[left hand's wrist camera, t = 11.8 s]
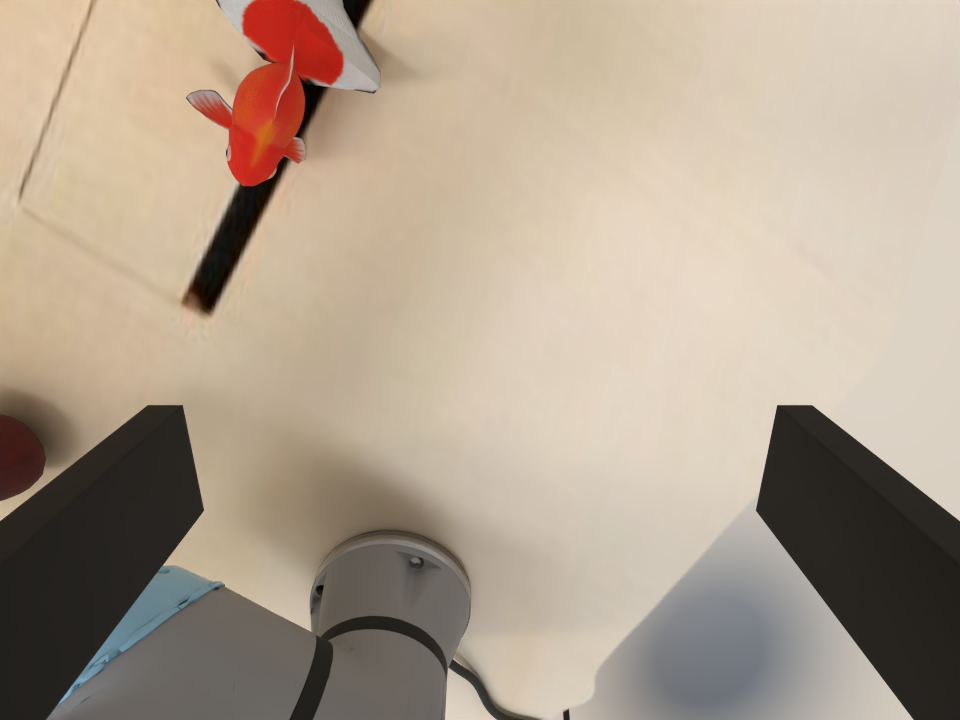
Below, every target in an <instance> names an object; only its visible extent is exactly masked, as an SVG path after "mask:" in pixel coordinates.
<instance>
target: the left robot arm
mask: <svg viewBox="0 0 960 720" xmlns="http://www.w3.org/2000/svg"><path fill="white" fill-rule="evenodd" d="M203 511H204V508H203V503H202V498H201V493H200V488H199V483H198V478H197V473H196V469H195V464H194V459H193V454H192V449H191V444H190V439H189V434H188V429H187V424H186V419H185V414H184V410H183V405H148V406H146V407H145V408H144V409H143V410H141V411H140V412H139V413H138V414H136V415H135V416H134V417H132V418H131V419H130V420H129V421H127V422H126V423H125V424H124V425H122V426H121V427H120V428H118V429H117V430H116V431H115V432H113V433H112V434H111V435H109V436H108V437H107V438H106V439H104V440H103V441H102V442H101V443H99V444H98V445H97V446H95V447H94V448H93V449H92V450H90V451H89V452H88V453H87V454H85V455H84V456H83V457H81V458H80V459H79V460H78V461H76V462H75V463H74V464H73V465H71V466H70V467H69V468H67V469H66V470H65V471H64V472H62V473H61V474H60V475H59V476H57V477H56V478H55V479H53V480H52V481H51V482H50V483H48V484H47V485H46V486H45V487H43V488H42V489H41V490H39V491H38V492H37V493H36V494H34V495H33V496H32V497H31V498H29V499H28V500H27V501H25V502H24V503H23V504H22V505H20V506H19V507H18V508H16V509H15V510H14V511H13V512H11V513H10V514H9V515H8V516H6V517H5V518H4V519H2V520H1V521H0V720H445V707H446V688H447V672H448V667H449V668H450V669H451V670H453V671H454V672H456V673H457V674H459V675H460V676H462V677H463V678H465V679H466V680H468V681H469V682H470V683H471V684H472V685H473V686H474V688H475V689H476V691H477V693H478V695H479V697H480V699H481V701H482V703H483V705H484V706H485V708H486V709H487V711H488V712H489V713H490V714H491V715H492V716H493V717H494V718H496V719H497V720H522V719H518V718H514V717H510V716H508V715H505V714H503V713H502V712H500V711H499V710H498V709H496V708H495V706H494V705H493V704H492V702H491V701H490V699H489V697H488V695H487V693H486V691H485V689H484V687H483V685H482V683H481V682H480V681H479V680H478V678H477V677H476V676H475V675H474V674H473V673H471V672H470V671H469V670H467V669H466V668H464V667H463V666H461V665H460V664H458V663H457V662H455V661H454V660H453V656H454V654H455V652H456V649H457V647H458V645H459V642H460V640H461V638H462V636H463V634H464V633H465V631H466V628H467V626H468V623H469V619H470V604H471V591H470V585H469V581H468V578H467V576H466V573H465V571H464V570H463V568H462V566H461V565H460V563H459V562H458V561H457V560H456V558H455V557H454V556H453V555H452V554H451V553H450V552H448V551H447V550H446V549H445V548H443V547H442V546H440V545H439V544H437V543H435V542H433V541H431V540H429V539H427V538H425V537H422V536H419V535H416V534H412V533H407V532H401V531H376V532H370V533H366V534H362V535H359V536H356V537H354V538H351V539H349V540H347V541H346V542H344V543H342V544H341V545H339V546H338V547H336V548H335V549H334V550H333V551H332V552H331V553H330V554H329V555H328V556H327V557H326V559H325V560H324V561H323V563H322V565H321V567H320V569H319V571H318V574H317V576H316V579H315V582H314V584H313V587H312V590H311V595H310V609H311V627H310V628H311V629H312V632H310V631H308V630H306V629H304V628H302V627H300V626H298V625H297V624H295V623H293V622H291V621H289V620H287V619H285V618H283V617H281V616H279V615H277V614H275V613H273V612H271V611H269V610H267V609H266V608H264V607H262V606H260V605H258V604H256V603H254V602H252V601H251V600H249V599H247V598H245V597H243V596H241V595H239V594H237V593H235V592H234V591H232V590H230V589H228V588H226V587H225V585H224V584H223V583H222V582H219V581H217V582H213V581H210V580H208V579H206V578H203V577H201V576H199V575H196V574H194V573H192V572H190V571H188V570H185V569H183V568H181V567H178V566H169V565H168V566H163V564H164V563H165V562H166V560H167V559H168V558H169V556H170V555H171V554H172V552H173V551H174V550H175V548H176V547H177V546H178V544H179V543H180V542H181V540H182V539H183V538H184V536H185V535H186V534H187V532H188V531H189V530H190V528H191V527H192V526H193V524H194V523H195V522H196V520H197V519H198V518H199V517H200V515H201V514H202V513H203ZM756 511H757V512H758V514H759V515H760V517H761V518H762V519H763V520H764V522H765V523H766V524H767V526H768V527H769V528H770V530H771V531H772V532H773V534H774V535H775V536H776V538H777V539H778V540H779V542H780V543H781V544H782V546H783V547H784V548H785V550H786V551H787V552H788V554H789V555H790V556H791V558H792V559H793V560H794V561H795V563H796V564H797V565H798V567H799V568H800V570H801V571H802V572H803V574H804V575H805V576H806V577H807V579H808V580H809V581H810V583H811V584H812V585H813V587H814V588H815V589H816V591H817V592H818V593H819V595H820V596H821V597H822V599H823V600H824V601H825V603H826V604H827V605H828V607H829V608H830V609H831V611H832V612H833V613H834V615H835V616H836V617H837V619H838V620H839V621H840V623H841V624H842V625H843V626H844V628H845V629H846V630H847V632H848V633H849V634H850V636H851V637H852V638H853V640H854V641H855V642H856V644H857V645H858V646H859V648H860V649H861V650H862V652H863V653H864V654H865V656H866V657H867V658H868V660H869V661H870V662H871V664H872V665H873V666H874V668H875V669H876V670H877V672H878V673H879V674H880V676H881V677H882V678H883V680H884V681H885V682H886V684H887V685H888V686H889V688H890V689H891V690H892V691H893V693H894V694H895V695H896V697H897V698H898V699H899V701H900V702H901V703H902V705H903V706H904V707H905V709H906V710H907V711H908V713H909V714H910V715H911V717H912V718H913V719H914V720H960V521H959V520H958V519H956V518H955V517H954V516H952V515H951V514H950V513H949V512H947V511H946V510H945V509H944V508H942V507H941V506H940V505H938V504H937V503H936V502H935V501H933V500H932V499H931V498H929V497H928V496H927V495H926V494H924V493H923V492H922V491H921V490H919V489H918V488H917V487H915V486H914V485H913V484H912V483H910V482H909V481H908V480H906V479H905V478H904V477H903V476H901V475H900V474H899V473H898V472H896V471H895V470H894V469H893V468H891V467H890V466H889V465H887V464H886V463H885V462H884V461H882V460H881V459H880V458H879V457H877V456H876V455H875V454H873V453H872V452H871V451H870V450H868V449H867V448H866V447H864V446H863V445H862V444H861V443H859V442H858V441H857V440H856V439H854V438H853V437H852V436H851V435H849V434H848V433H847V432H845V431H844V430H843V429H842V428H840V427H839V426H838V425H836V424H835V423H834V422H833V421H831V420H830V419H829V418H828V417H826V416H825V415H824V414H822V413H821V412H820V411H819V410H817V409H816V408H815V407H814V406H812V405H777V410H776V414H775V419H774V424H773V429H772V434H771V439H770V444H769V449H768V454H767V459H766V464H765V469H764V473H763V478H762V483H761V488H760V493H759V498H758V503H757V508H756ZM309 611H310V610H309ZM563 720H570V714H569V709H567V710H565V711H563Z"/></svg>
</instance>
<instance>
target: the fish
mask: <svg viewBox="0 0 960 720" xmlns="http://www.w3.org/2000/svg"><path fill="white" fill-rule="evenodd" d="M216 1H217V3H218V5H219V7H220V8H221V10H222V11H223V12H224V14H225V15H226V17H227V18H228V20H229V21H230V22H231V23H232V25H233V26H234V27H235V28H236V29H237V30H238V32H239V33H240V34H241V35H242V36H243V37H244V38H245V40H246V41H247V42H248V43H249V44H250V45H251V46H252V47H253V48H254V50H255V51H256V52H257V53H258V54H259V55H260V56H261V57H262V58H263V59H264V60H266V61H269V62H271V64H268V65H265V66H262V67H260V68H257V69H255V70H254V71H252V72H251V73H249V74H248V75H247V76H246V77H245V79H244V80H243V81H242V82H241V84H240V85H239V87H238V90H237V93H236V96H235V99H234V104H233V109H232V108H231V107H230V106H229V105H228V104H227V103H226V102H225V101H224V100H223V99H222V97H221V96H220V95H219V94H218V93H217V92H216V91H213V90H199V91H196V92H192V93H190V94H189V95H188V96H187V97H186V99H187V100H188V101H189V102H190V104H191V105H192V106H193V107H194V108H195V109H197V110H198V111H200V112H201V113H202V114H203V115H205V116H206V117H207V118H208V119H210V120H212V121H213V122H215V123H217V124H218V125H220V126H222V127H224V128H226V129H228V130H229V145H228V148H227V150H226V157H227V162H228V165H229V168H230V170H231V172H232V174H233V176H234V177H235V179H236V180H237V181H238V182H239V183H240V184H241V185H243V186H255V185H257V184H259V183H261V182H263V181H265V180H267V179H270V178H272V177H273V176H274V174H275V173H276V169H277V164H278V162H279V161H280V160H281V159H282V157H283V156H285V157H287V158H289V159H290V160H292V161H294V162H296V163H300V162H301V161H302V160H305V156H306V148H305V143H304V140H303V139H302V138H299V137H295V135H296V134H297V132H298V130H299V127H300V125H301V122H302V119H303V115H304V108H305V96H304V91H303V87H302V84H301V81H300V79H301V80H302V81H303V82H304V83H306V84H312V85H319V86H326V87H333V88H338V89H345V90H358V91H363V92H368V93H375V92H376V91H377V90H378V89H379V88H380V70H379V68H378V66H377V65H376V63H375V61H374V59H373V57H372V56H371V54H370V52H369V50H368V49H367V47H366V45H365V44H364V42H363V40H362V39H361V37H360V36H359V34H358V32H357V31H356V29H355V28H354V26H353V24H352V22H351V20H350V18H349V16H348V15H347V13H346V11H345V9H344V6H343V0H216Z"/></svg>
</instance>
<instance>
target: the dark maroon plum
mask: <svg viewBox="0 0 960 720" xmlns="http://www.w3.org/2000/svg"><path fill="white" fill-rule="evenodd" d="M45 460H46V457H45V453H44V449H43V446H42V445H41V443H40V441H39V440H38V438H37V437H36V435H35V434H34V433H33V432H32V431H31V430H30V429H29V428H28V427H27V426H26V425H25V424H23V423H22V422H20V421H18V420H16V419H14V418H11V417H9V416H4V415H0V501H2V500H6V499H8V498H11V497H13V496H15V495H18V494H20V493H22V492H24V491H25V490H27V489H29V488H30V487H31V486H32V485H33V484H34V483H35V482H36V481H37V480H38V479H39V478H40V477H41V476H42V474H43V471H44V465H45Z"/></svg>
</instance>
